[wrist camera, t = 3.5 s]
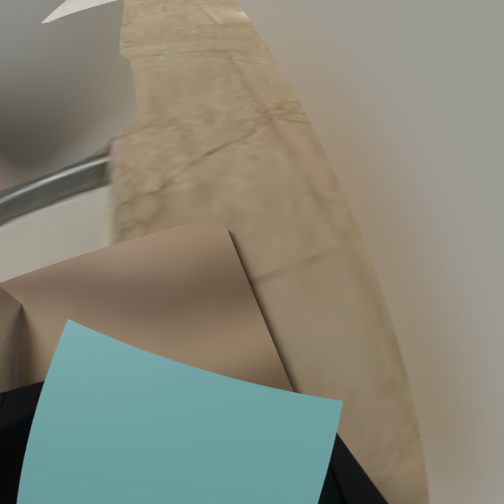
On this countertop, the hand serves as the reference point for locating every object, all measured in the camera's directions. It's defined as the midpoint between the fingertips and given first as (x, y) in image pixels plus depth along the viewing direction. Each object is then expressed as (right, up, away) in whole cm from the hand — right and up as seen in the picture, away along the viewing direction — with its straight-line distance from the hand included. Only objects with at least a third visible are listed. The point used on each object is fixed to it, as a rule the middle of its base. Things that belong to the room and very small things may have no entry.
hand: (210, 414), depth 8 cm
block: (-1, -4, +4) cm, 6 cm away
